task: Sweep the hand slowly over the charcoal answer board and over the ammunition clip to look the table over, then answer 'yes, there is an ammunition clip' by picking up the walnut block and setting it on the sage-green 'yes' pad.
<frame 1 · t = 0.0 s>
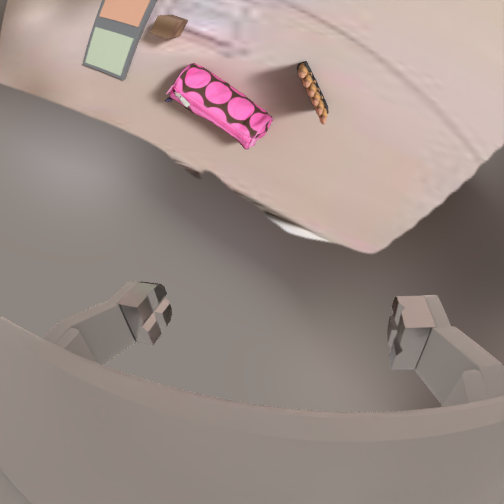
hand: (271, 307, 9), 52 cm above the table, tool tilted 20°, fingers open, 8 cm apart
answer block: (176, 25, 41), on the table
pencil case: (227, 100, 53), on the table
ammunition clip: (313, 85, 47), on the table
answer board: (118, 26, 41), on the table
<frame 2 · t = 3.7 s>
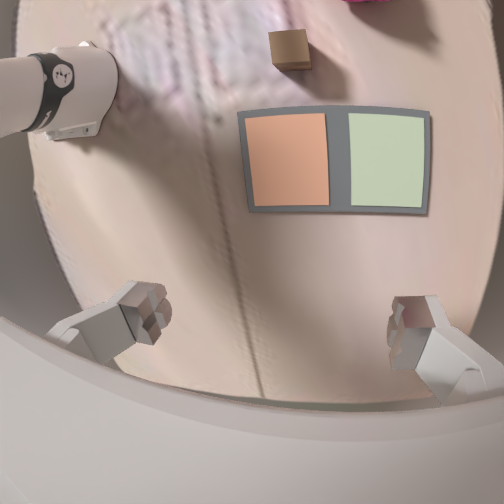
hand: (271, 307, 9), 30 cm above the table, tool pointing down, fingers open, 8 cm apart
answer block: (294, 56, 29), on the table
answer board: (338, 158, 34), on the table
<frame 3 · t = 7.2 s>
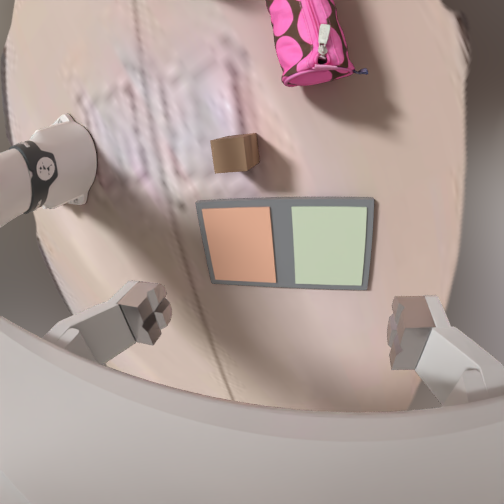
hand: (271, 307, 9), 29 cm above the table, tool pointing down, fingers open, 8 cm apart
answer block: (243, 148, 36), on the table
pencil case: (305, 15, 25), on the table
answer board: (284, 243, 41), on the table
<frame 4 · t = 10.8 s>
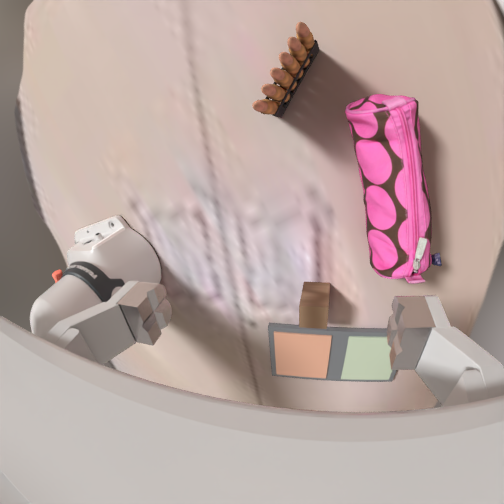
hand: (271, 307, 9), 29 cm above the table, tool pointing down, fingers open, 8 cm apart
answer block: (316, 292, 43), on the table
pencil case: (389, 176, 32), on the table
ammunition clip: (294, 79, 30), on the table
answer board: (337, 354, 48), on the table
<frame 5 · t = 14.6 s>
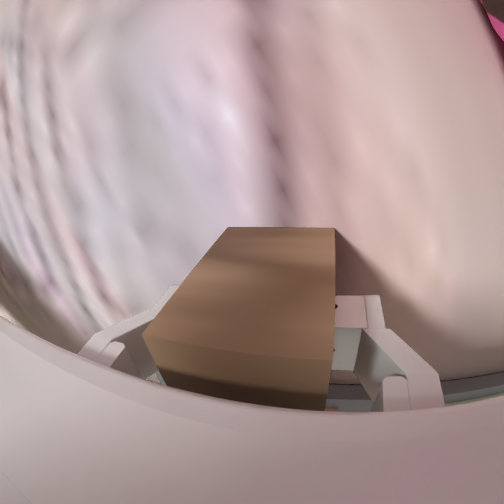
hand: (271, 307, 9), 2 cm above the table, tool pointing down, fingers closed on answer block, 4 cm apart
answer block: (282, 274, 11), on the table, touching gripper
answer board: (348, 436, 16), on the table
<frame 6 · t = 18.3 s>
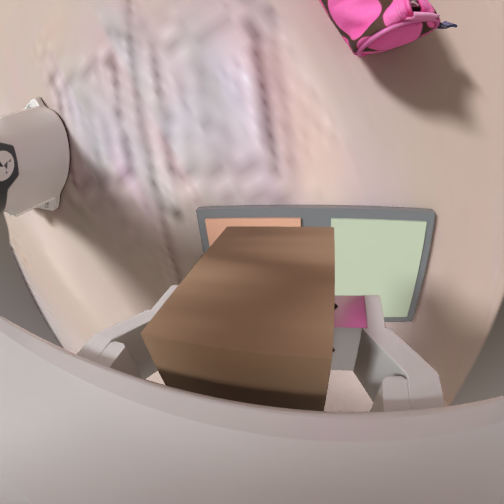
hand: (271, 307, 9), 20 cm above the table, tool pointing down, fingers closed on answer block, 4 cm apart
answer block: (282, 273, 11), point 18 cm above the table, touching gripper
answer board: (316, 266, 30), on the table
when the fingers open (5 cm above the table, at t = 22.3 s): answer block drops 2 cm, resting on answer board.
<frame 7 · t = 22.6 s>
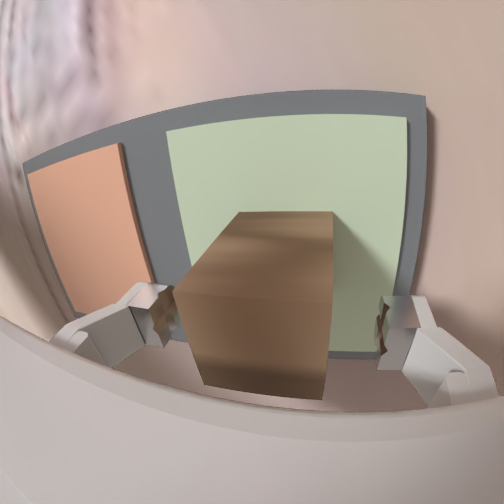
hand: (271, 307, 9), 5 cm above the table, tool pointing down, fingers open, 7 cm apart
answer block: (287, 253, 13), point 1 cm above the table, touching answer board
answer board: (175, 240, 15), on the table
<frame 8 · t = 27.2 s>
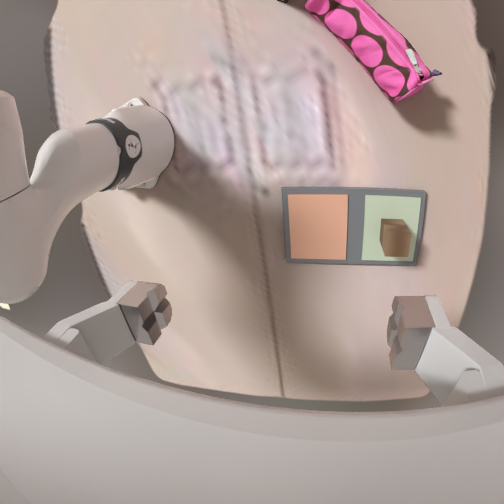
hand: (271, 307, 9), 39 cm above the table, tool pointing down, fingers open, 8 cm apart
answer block: (391, 229, 44), point 1 cm above the table, touching answer board
pencil case: (366, 41, 32), on the table
answer board: (354, 226, 47), on the table
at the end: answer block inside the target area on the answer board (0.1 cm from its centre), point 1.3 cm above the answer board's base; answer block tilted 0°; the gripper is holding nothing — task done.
